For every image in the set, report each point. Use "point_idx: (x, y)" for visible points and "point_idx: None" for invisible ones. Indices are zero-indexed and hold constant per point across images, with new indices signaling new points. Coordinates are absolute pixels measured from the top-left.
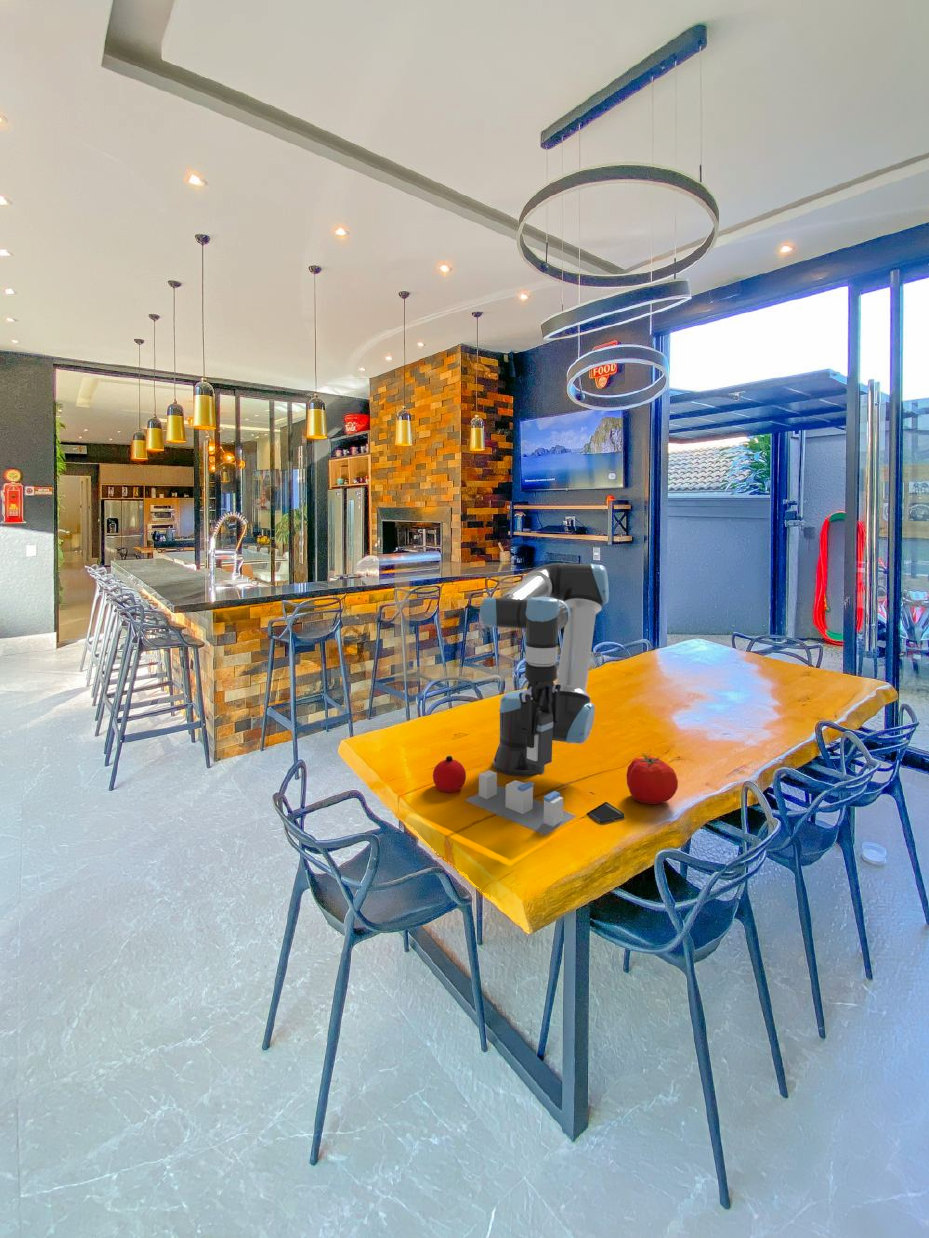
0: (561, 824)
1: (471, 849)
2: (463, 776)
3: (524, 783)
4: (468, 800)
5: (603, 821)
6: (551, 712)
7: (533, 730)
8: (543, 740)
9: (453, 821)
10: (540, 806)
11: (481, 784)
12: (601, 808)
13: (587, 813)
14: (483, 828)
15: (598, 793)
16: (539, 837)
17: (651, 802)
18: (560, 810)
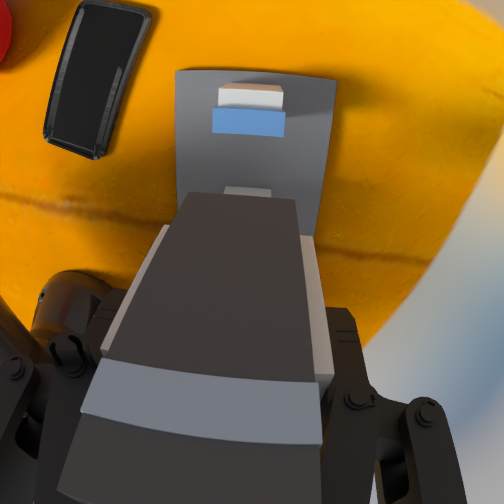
0: (250, 73)
1: (457, 200)
2: None
3: None
4: None
5: (145, 10)
6: (46, 493)
7: (378, 423)
8: (271, 302)
9: (376, 288)
10: (199, 177)
11: None
12: (88, 60)
13: (131, 69)
14: (373, 228)
15: (32, 126)
16: (335, 95)
17: (7, 6)
18: (239, 85)
